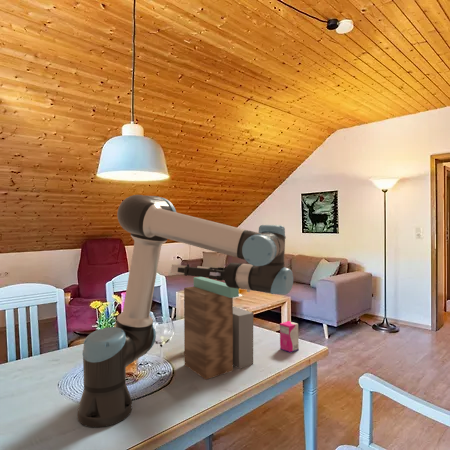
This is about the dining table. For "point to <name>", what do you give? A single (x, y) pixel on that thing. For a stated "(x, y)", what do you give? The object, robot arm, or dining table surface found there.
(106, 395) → the robot arm
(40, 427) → the dining table surface
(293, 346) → the supplement box
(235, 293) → the bar
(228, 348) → the stand
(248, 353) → the base block
